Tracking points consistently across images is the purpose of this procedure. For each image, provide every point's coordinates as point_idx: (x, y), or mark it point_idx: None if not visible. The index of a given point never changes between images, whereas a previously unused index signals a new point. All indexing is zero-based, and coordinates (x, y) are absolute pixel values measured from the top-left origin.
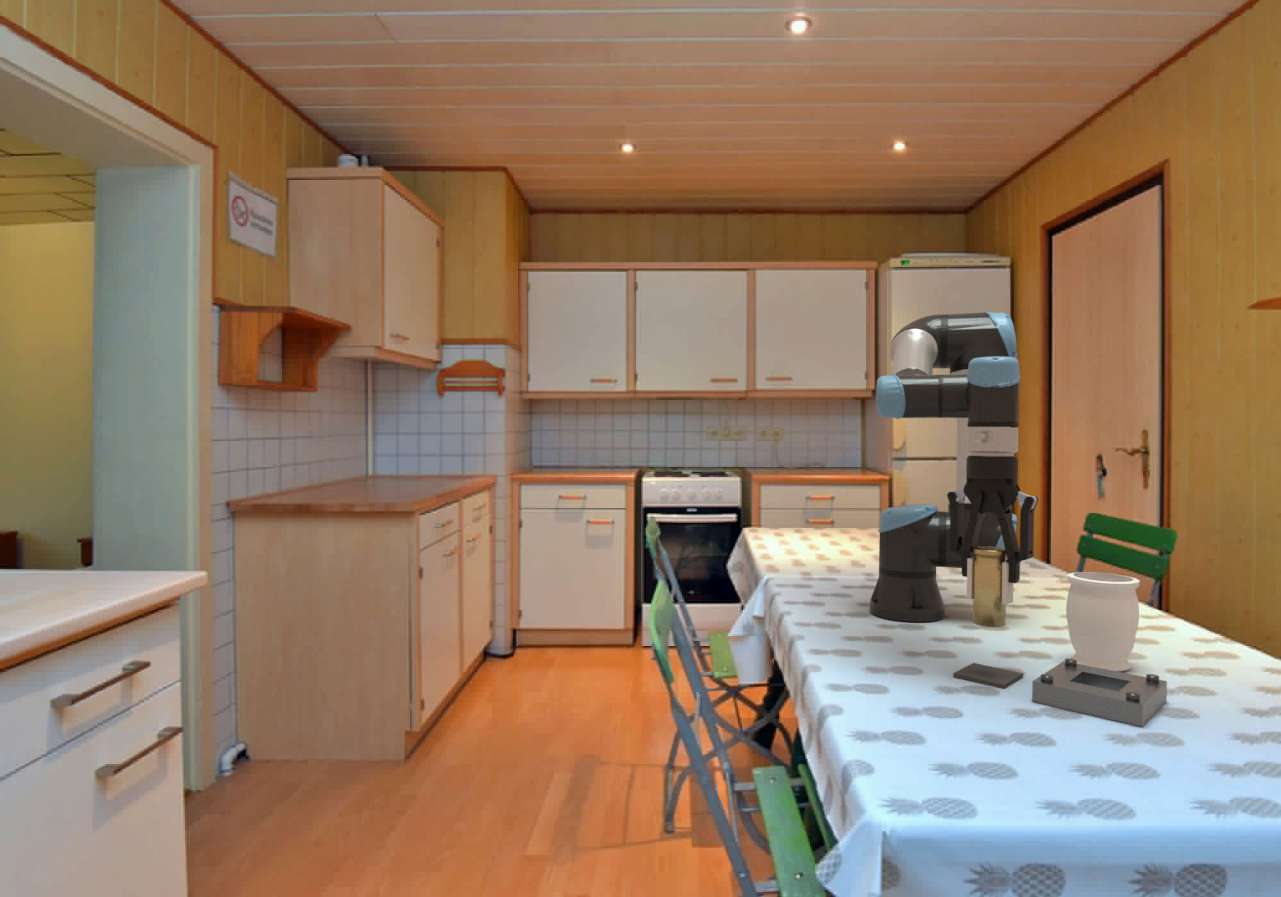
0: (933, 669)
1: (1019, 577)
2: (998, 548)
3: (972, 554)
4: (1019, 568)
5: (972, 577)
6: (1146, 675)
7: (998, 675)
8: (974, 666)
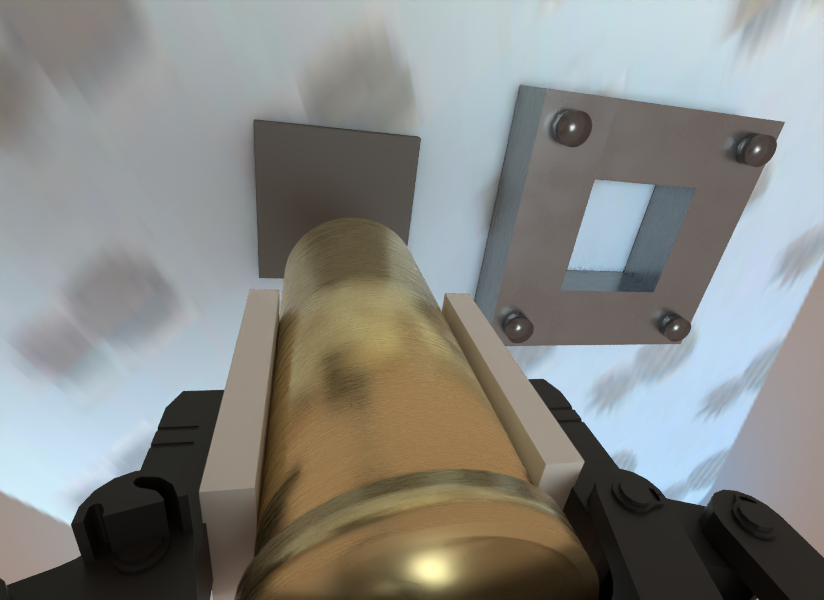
0: (176, 239)
1: (565, 400)
2: (498, 592)
3: (199, 553)
4: (598, 448)
5: None
6: (748, 157)
7: (367, 212)
8: (276, 165)
